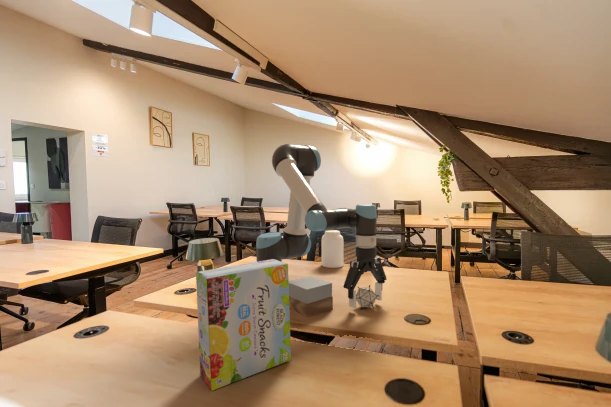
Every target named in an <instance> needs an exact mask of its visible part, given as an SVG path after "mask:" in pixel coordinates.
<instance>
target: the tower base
mask: <svg viewBox="0 0 611 407" xmlns="http://www.w3.org/2000/svg"><path fill="white" fill-rule="evenodd" d="M333 298H334V297H333V296H332V297H328V298H325V299H322V300H318V301H315V302H311V303H308V304H306V303H304V302H301V301H299V300H297V299H294V298H292V297H290V296H289V309H290V310H293V311H294V312H297V313H298V314H301V315H302V316H303V317H307V318H308V317H310V316H314V315H318V314H321V313H325V312H327V311H331V310H333V308H334V299H333Z"/></svg>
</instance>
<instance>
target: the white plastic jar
mask: <svg viewBox="0 0 611 407" xmlns="http://www.w3.org/2000/svg"><path fill="white" fill-rule="evenodd" d="M344 247H345V246H344V236H343V235H341V231H340V230H339V229H330V230H324V234H323V235H322V236H321V266H322V267H324V268H330V269H336V268H337V269H338V268H342V267H343V266H344Z"/></svg>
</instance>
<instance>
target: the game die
mask: <svg viewBox="0 0 611 407" xmlns="http://www.w3.org/2000/svg"><path fill="white" fill-rule="evenodd" d="M357 289H358V290H357V291H356V303H358V305H359V306H360V309H361V310H363V309H364V308H371V307H372V308H373V309H375V307H374V304H375V302H376V300H377V299H376V297H377V296H379V295H376V294H375V291H374V290H373V289H372V288H371V284H369V285H368V286H366V287H365V286H364V287H360V286H357Z"/></svg>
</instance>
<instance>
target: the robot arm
mask: <svg viewBox="0 0 611 407" xmlns="http://www.w3.org/2000/svg"><path fill="white" fill-rule="evenodd" d="M321 163H322V158H321V153H320V152H319V150H318V149H317V148H316V147H315V146H311V145H307V144H304V145H303V144H291V143H285V144H284V143H283V144H281V145H280V146H278V147H277V148H276V149H275V150H274V152H273V154H272V156H271V164H272V167H273V170H274V171H275V173H276V175H277V176H279V177H281V178H282V181H284V183H285V184H286V186H287V187H288V189H289V190H290V193H289V201H288V202H289V203H288V211H287V212H288V213H287V223H286V226H285V227H284V228H283V231H282V233H281V232H279V231H272V232H266V233H263V234H260V235H258V236H257V238H256V241H255V242H256V243H255V244H256V245H255V247H256V249H255V250H256V251H255V252H256V253H255V254H256V256H255V257H256V262H258V261H265V260H271V259H275V260H278V261H280V262H283V260H289V259H294V258H300V257H304V256H306V255H307V254H308V253H309V252H310V250H311V246H312V240H311V237H310V234H308V230H309V231H311V232H322V231H327V230H339V229H341V230H342V229H354V230H355V257H356V261H353V260H351V261H349V269H348V271H347V274H346V277H345V280H344V283H343V286H342V288H343V289H346V290H347V297H348V304H349V305H348V306H349V307H350V308H352V309H357V301H356V294H357V290H356V287H357V284H358V283H359V281H360V279H361V277H362V276H363V275H364V274H365V273H367V272H370V273H371V275H372V276H373V278H374V279H375V280H376V281H375V282H374V293H375V294H376V295H379V296H377V297H376V300H378V301H382V300H383V298H382V294H383V292H382V291H383V284H385V283H386V281H387V278H388V277H387V275H386V273H385V270H384V267H383V263H382V258H381V257H379V256H377V247H376V246H377V220H378V219H377V218H378V215H377V207H376V205H375V204H369V203H368V204H366V203H363V204H361V203H360V204H357V205H355V208H347V207H338V208H336V209H332V208H331V209H327V207H326V206H325V205H324V203H323V202H322V201H321V199H320V198H319V197H318V195H317V193H316V192H315V190H314V189H313V188H312V187H311V179H312V178H314V176H315V173H316V172H317V171H318V170H319V168H320V167H321ZM305 226H306V227H305ZM306 228H307V229H306Z"/></svg>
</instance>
